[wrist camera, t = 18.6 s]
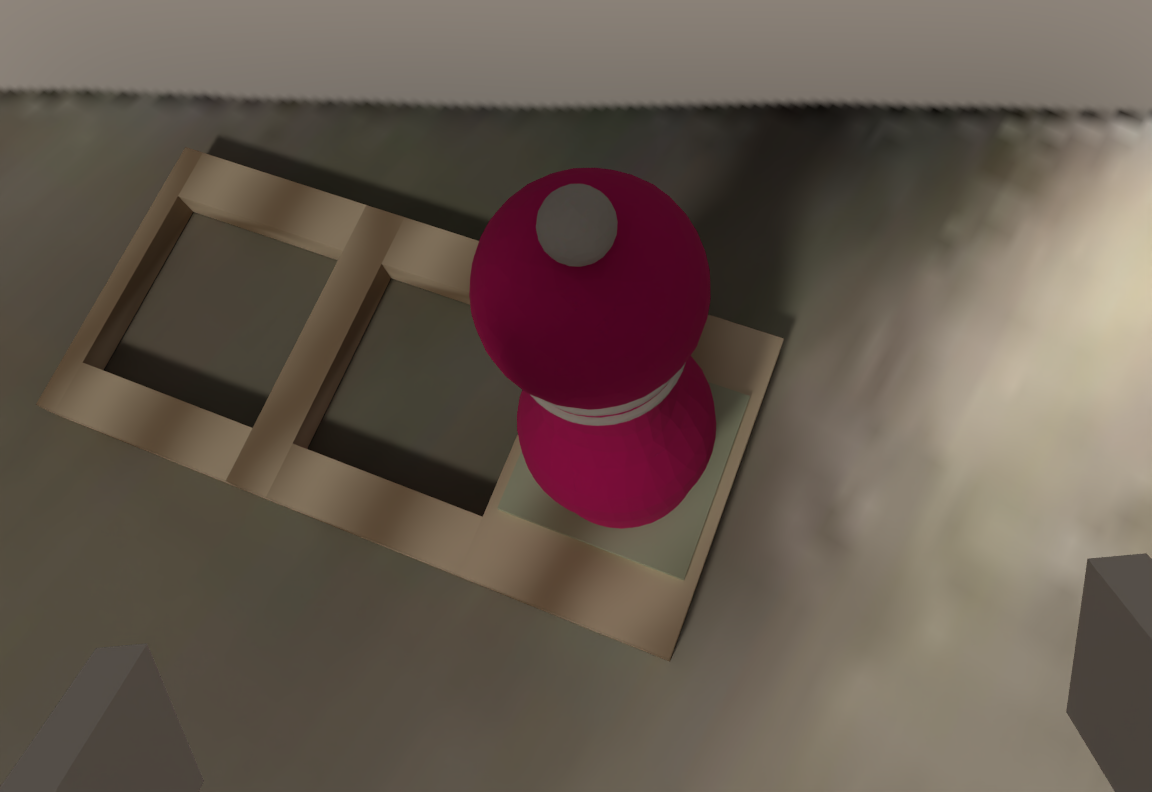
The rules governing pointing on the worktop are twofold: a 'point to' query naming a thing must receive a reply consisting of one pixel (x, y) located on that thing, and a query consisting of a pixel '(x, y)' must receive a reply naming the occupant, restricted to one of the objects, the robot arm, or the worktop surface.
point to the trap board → (370, 503)
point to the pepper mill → (600, 340)
